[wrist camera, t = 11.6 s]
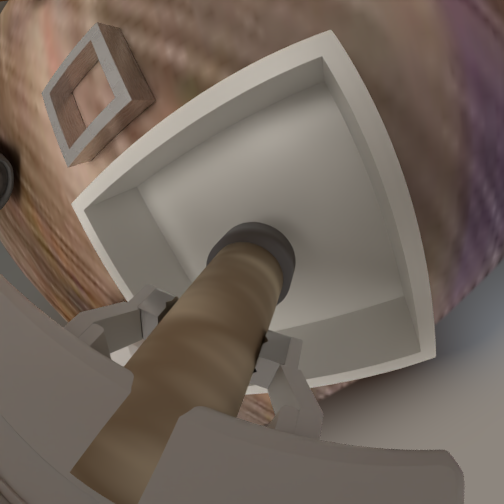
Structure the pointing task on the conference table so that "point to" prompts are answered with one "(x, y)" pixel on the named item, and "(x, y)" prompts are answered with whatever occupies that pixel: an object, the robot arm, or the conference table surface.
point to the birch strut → (193, 358)
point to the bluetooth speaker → (5, 180)
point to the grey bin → (279, 208)
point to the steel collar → (120, 80)
